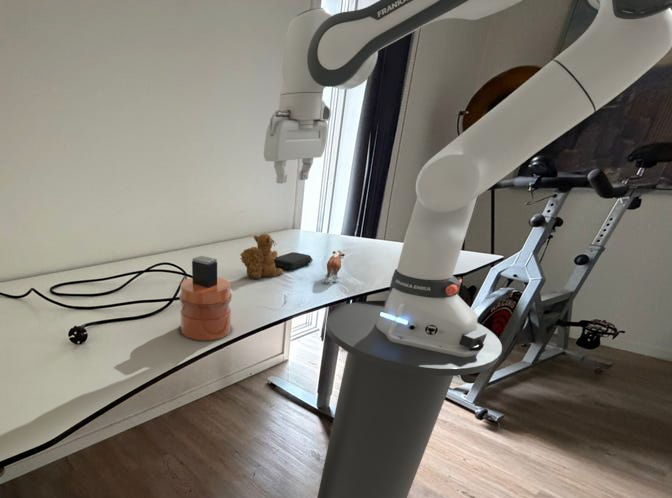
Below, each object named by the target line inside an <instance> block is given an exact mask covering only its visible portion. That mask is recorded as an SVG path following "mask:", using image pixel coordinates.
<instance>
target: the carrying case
mask: <svg viewBox="0 0 672 498" xmlns="http://www.w3.org/2000/svg"><path fill="white" fill-rule="evenodd" d="M313 261H314V259H313V258H312V256H311V255H310V254H305V253H300V252H296V251H295V252H294V251H292V252H289V253H285V254H282V255H279V256H277V257H276V258H275V259H274V263H275V268H280V269H282V270H286V271H293V270H295V269H299V268H300V267H304V266H306V265H308V264H312V263H313Z"/></svg>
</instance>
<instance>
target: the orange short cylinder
mask: <svg viewBox="0 0 672 498" xmlns="http://www.w3.org/2000/svg"><path fill="white" fill-rule="evenodd" d="M178 296H179V299H178V300H179V302H180V303H181V309H180V312H179V313H180V329H181V333H182V335H183V336H185V337H186V338H188V339H191V340H195V341H214V340H219V339H222V338H225V337H227V336H228V335H229V334H230V332H231V326H232V325H231V324H232V316H231V315H232V310H231V308H230V303H231V302H232V299H233V294H232V293H231V282H230V281H229V280H227V279H226V278H222V277H218V276H217V285H215V286H212V287H209V288H207V287H204V286H200V285H197V284H194V283H193V278H192V277H190V278H187V279H185V280H183V281H182V282H181V283H180V293H179V295H178Z"/></svg>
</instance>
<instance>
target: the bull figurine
mask: <svg viewBox="0 0 672 498" xmlns="http://www.w3.org/2000/svg"><path fill="white" fill-rule="evenodd" d="M344 259H345V253H344V252H343V250H340V249H338V250H337V251H335V250H333V251H332V256H330V257H329V259H328V261H327V263H326V270H327V271H326V280H325V281H324V283H325V284H328V283H329V279H330V277H333V283H338V280H337V279H338V273H339V271H340V270H341V269H342V260H344Z"/></svg>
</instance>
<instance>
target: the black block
mask: <svg viewBox="0 0 672 498" xmlns="http://www.w3.org/2000/svg"><path fill="white" fill-rule="evenodd" d="M217 261H218V260H217V258H214V257H209V256H204V255H199V256H197V257H193V258H192V261H191V273H192V277H191V278H193V283H194V284H197V285H200V286H204V287H207V288H209V287H212V286H215V285H217V277H218V262H217Z"/></svg>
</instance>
